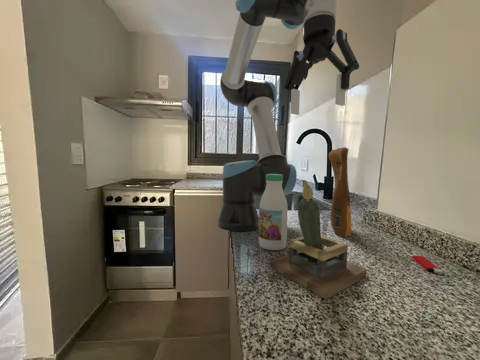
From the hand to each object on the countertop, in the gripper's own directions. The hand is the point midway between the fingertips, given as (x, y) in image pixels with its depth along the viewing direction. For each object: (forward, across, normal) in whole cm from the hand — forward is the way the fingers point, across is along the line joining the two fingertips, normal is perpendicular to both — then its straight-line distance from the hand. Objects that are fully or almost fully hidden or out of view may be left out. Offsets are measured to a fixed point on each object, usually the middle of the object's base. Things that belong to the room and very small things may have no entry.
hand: (315, 110), depth 58 cm
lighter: (+38, +22, +15) cm, 46 cm away
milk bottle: (+37, -7, -7) cm, 38 cm away
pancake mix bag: (+37, -5, +22) cm, 43 cm away
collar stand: (+37, +9, -9) cm, 39 cm away
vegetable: (+37, +9, -9) cm, 39 cm away
